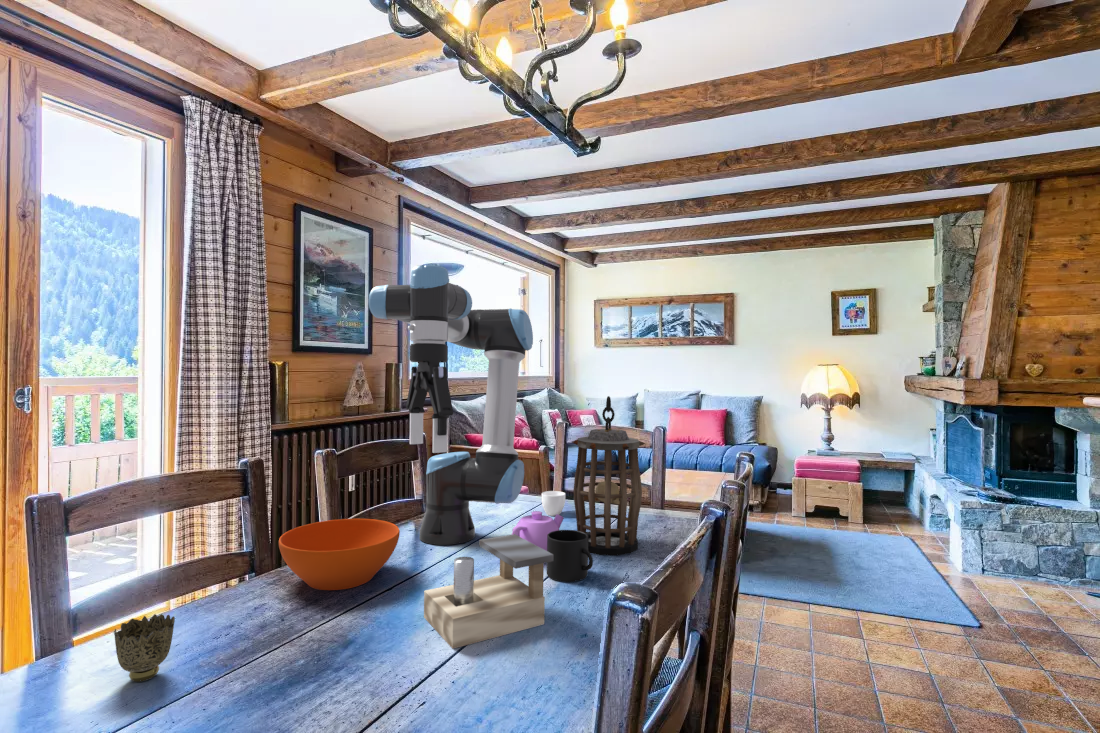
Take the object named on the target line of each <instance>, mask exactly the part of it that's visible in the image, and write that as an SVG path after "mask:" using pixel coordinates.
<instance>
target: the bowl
mask: <svg viewBox="0 0 1100 733" xmlns="http://www.w3.org/2000/svg"><path fill="white" fill-rule="evenodd" d="M400 532H401V531H400V528H399V526H397V525H396V524H394V523H392V522H389V521H386V520H380V519H372V518H340V519H330V520H322V521H316V522H312V523H308V524H307V523H306V524H303V525H301V526H297V527H294V528H292V529H290V530H288V531H286V532H284V533H283V534H281V536H280V537H279V538H278V539H279V540H278V548H279V552H280V554H281V557H282V559H283V560H284V563H286V565H287V567H288V568H289V569H290V570H291V572H293V573H294V575H296V576H297V577H298V578H299V579H301V580H302V581H303V582H304V583H305V584H307V586H309V587H310V588H312V589H315V590H321V591H339V590H341V591H342V590H348V589H352V588H356V587H359V586H361V585H364V584H366V583H368V582H369V581H371V580H372V579H373V577H374V576H375V575H376V574H377V573H378V572H379V571H380V570H382V568H383V567H384V565H386V563H387V562H388V561H389V559H390V558H391V556H392V555H393V553H394V551H395V550H396V548H397V545H398V543H399V540H400V539H399V538H400V535H401V533H400Z"/></svg>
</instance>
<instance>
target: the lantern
mask: <svg viewBox="0 0 1100 733" xmlns="http://www.w3.org/2000/svg"><path fill="white" fill-rule="evenodd" d="M605 402H606V403H605V407H604V408H603V410H602V414H601V415H602V419H603V420H604V422H605V428H596V429H590V431H589V433H588V436H581V437H577V439H575V440H572V441H571V443H572V444H575V445H577V448H578V450H577V460H576V461H577V462H576V468H575V473H574V482H573V490H572V491H573V504H574V511H575V518H576V531H581V532H584V533H586V534H587V535H588V551H589V552H590V553H591V555H592V554H593V555H598V556H611V557H612V556H614V557H615V556H616V557H617V556H623V555H629V554H632V553H634V552H635V551H638V550H639V541H638V538H637V537H638V525H639V516H640V512H641V506H642V499H643V498H642V497H643V490H642V479H641V471H640V466H639V464H640V462H639V450H638V449H640V447H641V446H643V445H646V443H645V442H642V440H639V439H638V438H634V437H629V436H628V433H627V431H626V430H624V429H616V428H615V429H613V428H612V422H613V420H614V419H615V410H614V409H613V408H612V401H611V397H610V395H608V396H607V397H606V401H605ZM606 412H607V413H610V412H611V417H609V416H607V417H606ZM588 450H591V451H590V452H591V453H590V461H587V458H588V457H587V455H588ZM598 451H604V458H603V460H602V461H599V460H598ZM613 451H614V452H615V451H617V461H612V460H613V459H612V458H613V457H612V456H613ZM626 451H627V452H626ZM627 453H628V455H627ZM627 456H628V463H627ZM599 465H604V466H603V467H604V469H598V466H599ZM587 466H590V468H588V467H587ZM612 466H617V468H618V469H617V470H612ZM586 473H589V474H590V475H589V481H588V482H585V480H586V479H585V477H586ZM597 474H598V475H604V481H599V482H598V481H597V482H596V480H597ZM627 474H629V475H630V476H629V477H630V484H627V483H628V482H627V481H628V479H627ZM612 475H618V477H619V478H618V480H619V482H613V481H612ZM587 487H588V491H584V490H585V488H587ZM628 489H630V492H629V493H628ZM585 497H588V509H589V510H588V511H589V514H588V515H586V507H585V506H586V505H585V504H586V502H585ZM596 499H597V500H599V501H600V502H602V503H603V513H599V514H596ZM628 499H630V500H629V506H628ZM611 504H613V505H617V514H612V509H611V508H612V505H611ZM628 508H629V509H628ZM627 510H628V511H627ZM627 512H628V514H627ZM600 518H601V519H602V518H603V528H602V527H597V522H596V520H597V519H600ZM612 519H616V528H612ZM587 520H589V525H587ZM626 521H627V525H626ZM587 530H588V531H587Z"/></svg>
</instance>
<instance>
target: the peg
mask: <svg viewBox="0 0 1100 733" xmlns="http://www.w3.org/2000/svg"><path fill="white" fill-rule="evenodd" d="M474 580H475V559H474V558H473V557H471V556H459V557H456V558H454V560H453V585H454V604H453V605H455V606H456V607H457V606H461V605H465V604H470V603H473V600H474Z"/></svg>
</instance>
